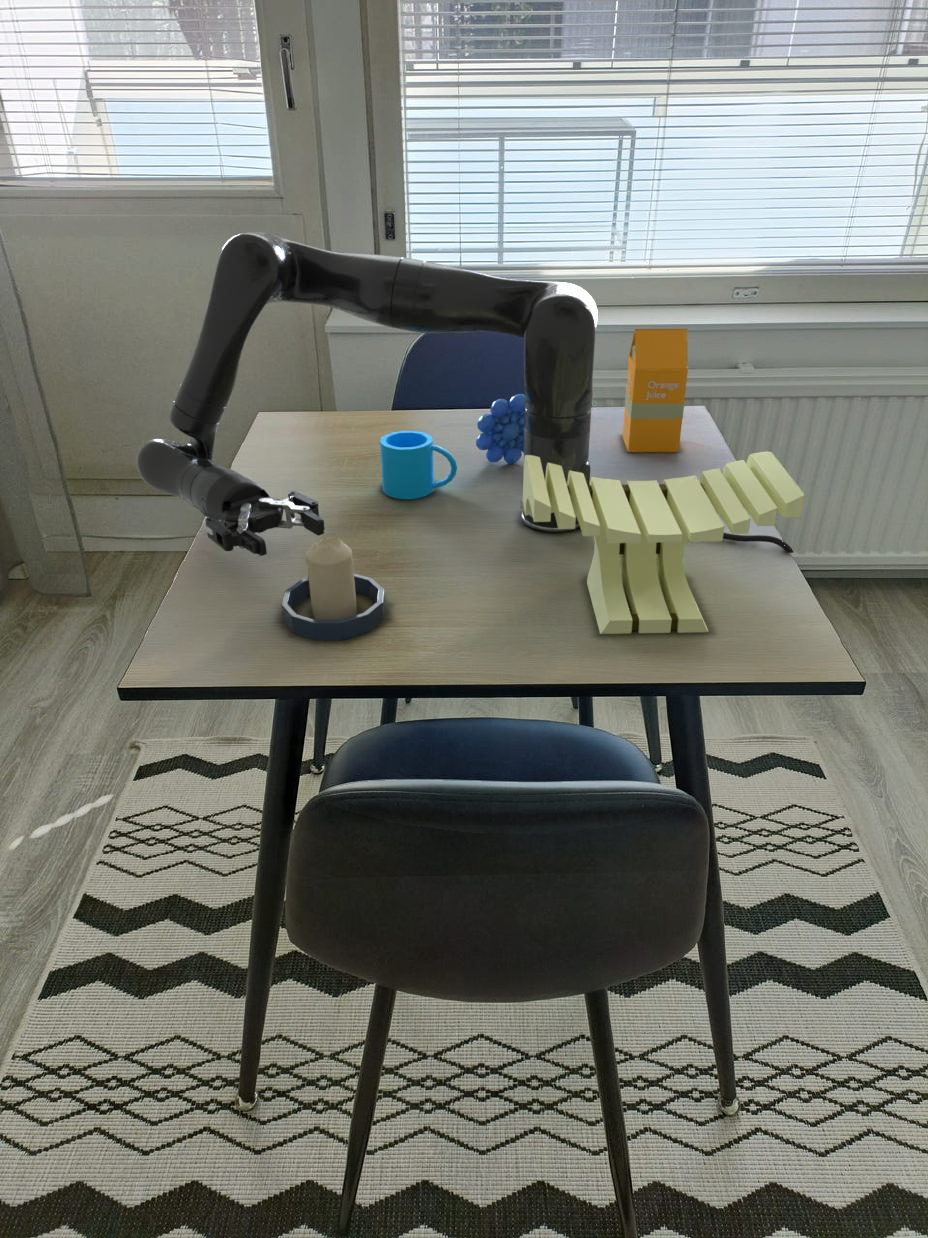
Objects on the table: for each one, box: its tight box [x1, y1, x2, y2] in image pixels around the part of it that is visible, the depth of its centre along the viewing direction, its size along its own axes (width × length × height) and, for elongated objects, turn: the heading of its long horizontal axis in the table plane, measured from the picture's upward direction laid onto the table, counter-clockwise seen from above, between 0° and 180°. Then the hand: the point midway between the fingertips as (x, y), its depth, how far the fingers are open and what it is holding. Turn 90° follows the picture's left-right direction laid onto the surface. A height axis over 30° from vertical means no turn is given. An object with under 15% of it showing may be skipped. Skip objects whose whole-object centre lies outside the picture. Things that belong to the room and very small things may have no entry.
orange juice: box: [622, 328, 689, 453], centre depth 163 cm, size 8×9×20 cm
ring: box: [280, 573, 386, 641], centre depth 119 cm, size 12×12×2 cm
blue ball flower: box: [475, 393, 525, 465], centre depth 159 cm, size 12×7×12 cm, turn 90°
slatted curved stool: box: [522, 451, 806, 635], centre depth 118 cm, size 30×16×18 cm, turn 91°
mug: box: [379, 430, 458, 500], centre depth 150 cm, size 12×8×8 cm
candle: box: [305, 536, 358, 620], centre depth 117 cm, size 6×6×10 cm
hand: (293, 538), depth 122 cm, fingers open, 8 cm apart
